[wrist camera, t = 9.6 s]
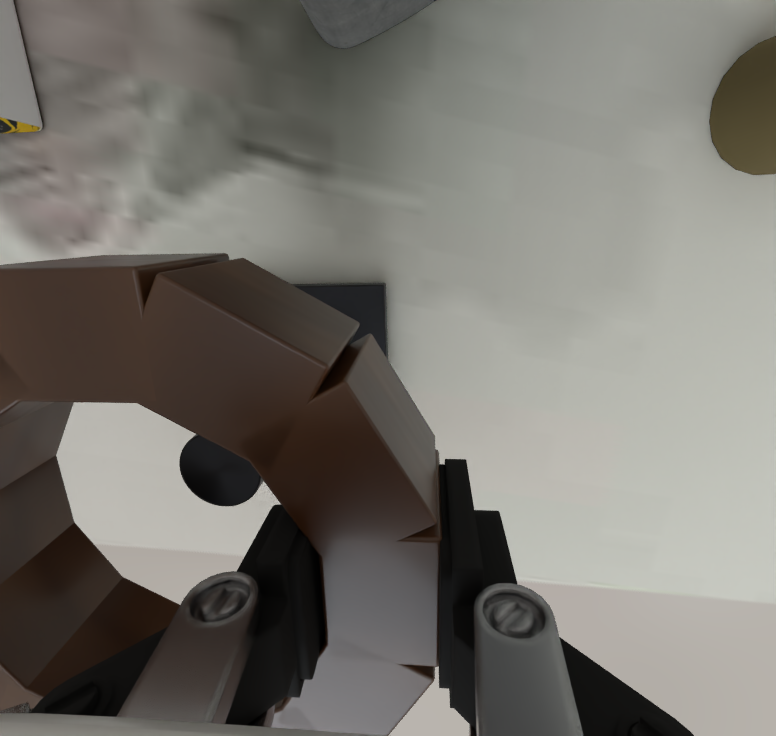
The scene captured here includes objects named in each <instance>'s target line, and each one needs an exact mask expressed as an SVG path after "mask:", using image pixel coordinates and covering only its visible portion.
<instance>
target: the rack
mask: <svg viewBox="0 0 776 736" xmlns="http://www.w3.org/2000/svg"><path fill="white" fill-rule="evenodd" d="M291 285H293V286H295V287H297V288H298V289H300V290H302V291H304V292H305V293H307V294H309V295H311V296H313V297H314V298H316V299H318V300H320V301H322V302H323V303H325V304H327V305H329V306H331V307H332V308H334V309H336V310H338V311H340V312H341V313H343V314H345V315H347V316H348V317H350V318H352V319H354V320H356V321H357V322H359V328H358V329H357V331H356V333H355V335H354V337H353V339H352V341H351V342H350V344H352V343H354V342H355V341H357V340H359V339H360V338H362V337H364V336H366V335H367V334H372V335H373V337H374V339H375V340H376V342H377V344H378V345H379V347H380V348H381V350H382V352H383V353H384V355H385V356H386V358H387V360H388V344H387V307H386V284H385V283H339V284H291ZM350 344H349V345H350ZM180 471H181V475H182V477H183V480H184V482H185V483H186V485H187V486H188V488H189V489H190V490H191V491H192V492H193V493H194V494H195V495H196V496H198V497H199V498H201V499H202V500H204V501H206V502H208V503H211V504H214V505H218V506H235V505H238V504H241V503H243V502H246V501H247V500H249V499H250V498H251V497H252V496H253V495H254V494H255V493H256V491H257V490H258V488H259V487H260V485H261V484H262V482H263V481H264V480H263V479H262V478H261V476H260V475H259V474H258V472H257V471H256V470H255V468H254V467H253V466H252V464H251V463H250V462H249V461H247V460H246V459H244V458H242V457H240V456H238V455H236V454H234V453H232V452H230V451H228V450H226V449H224V448H223V447H221V446H219V445H217V444H215V443H213V442H211V441H209V440H207V439H205V438H203V437H201V436H199V435H198V434H196V435H195V436H194V437H193V438H192V439H190V440H189V441H188V442H187V443H186V445H185V446H184V448H183V450H182V452H181V456H180Z"/></svg>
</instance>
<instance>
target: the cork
mask: <svg viewBox="0 0 776 736" xmlns="http://www.w3.org/2000/svg"><path fill="white" fill-rule="evenodd" d="M710 128H711V135H712V141H713V143H714V145H715V147H716V149H717V151H718V153H719V154H720V156H721V158H722V159H724V160H725V161H726V162H727V163H728V164H730V165H731V166H732V167H733V168H735V169H736V170H739V171H743V172H746V173H749V174H752V175H764V174H776V36H775V37H772V38H770V39H767V40H765V41H762V42H760V43H758V44H757V45H755V46H754V47H753V48H751V49H750V50H749V51H747V52H746V53H745V54H743V55H742V56H741V57H739V58H738V60H737V61H736V62H735V63H734V65H733V66H732V67H731V68H730V70H729V71H728V72H727V73H726V74H725V76H724V77H723V79H722V81H721V83H720V85H719V87H718V90H717V92H716V94H715V96H714V98H713V103H712V109H711V115H710Z"/></svg>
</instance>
